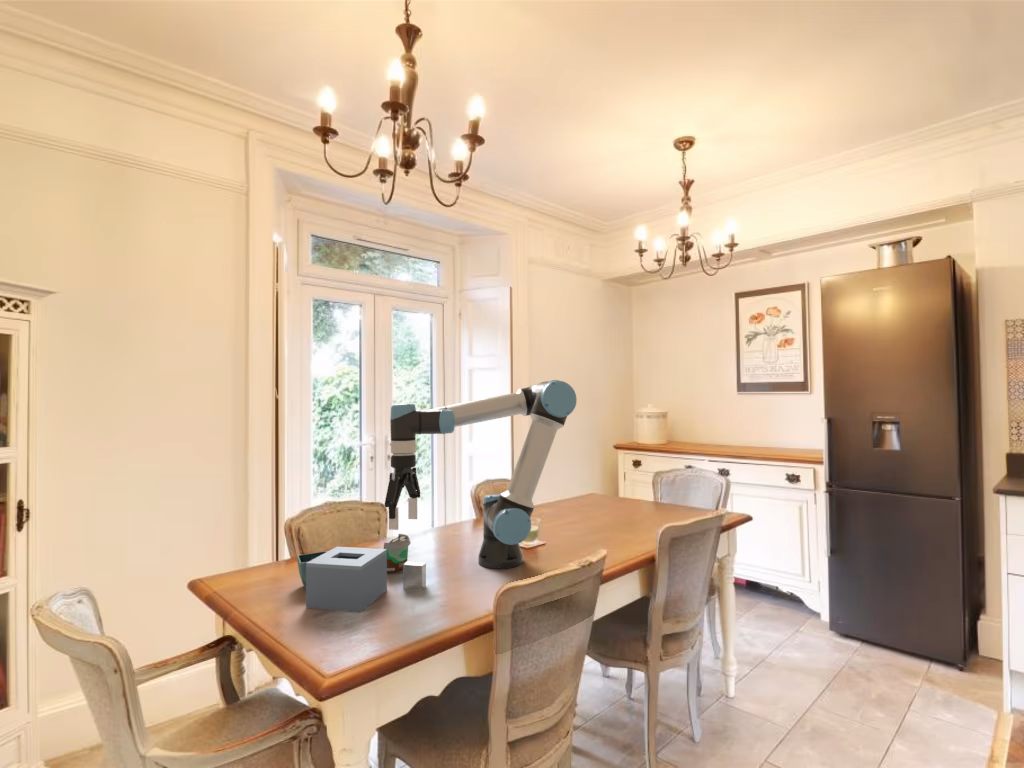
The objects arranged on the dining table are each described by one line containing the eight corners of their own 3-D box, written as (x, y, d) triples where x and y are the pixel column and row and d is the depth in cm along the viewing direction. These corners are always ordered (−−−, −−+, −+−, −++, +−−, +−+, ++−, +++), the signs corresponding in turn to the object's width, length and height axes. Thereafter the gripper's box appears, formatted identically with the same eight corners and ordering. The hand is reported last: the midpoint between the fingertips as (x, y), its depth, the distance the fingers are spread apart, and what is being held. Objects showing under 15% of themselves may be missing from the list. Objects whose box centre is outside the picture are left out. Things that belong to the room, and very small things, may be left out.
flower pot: (299, 594, 152) (299, 562, 153) (296, 584, 160) (296, 554, 160) (331, 588, 156) (331, 558, 157) (327, 579, 164) (327, 550, 164)
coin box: (386, 590, 155) (386, 549, 155) (360, 612, 139) (360, 566, 139) (337, 586, 158) (337, 546, 158) (306, 607, 142) (306, 562, 142)
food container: (401, 575, 167) (401, 544, 168) (383, 574, 169) (383, 543, 169) (416, 563, 180) (416, 534, 180) (399, 562, 181) (399, 533, 181)
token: (425, 586, 158) (425, 562, 158) (422, 589, 155) (422, 565, 155) (407, 584, 159) (407, 561, 159) (403, 588, 156) (403, 564, 157)
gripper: (409, 449, 174) (409, 514, 174) (372, 458, 150) (372, 533, 150) (430, 450, 173) (430, 515, 172) (396, 459, 148) (396, 535, 148)
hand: (403, 524), depth 161 cm, fingers open, 13 cm apart
